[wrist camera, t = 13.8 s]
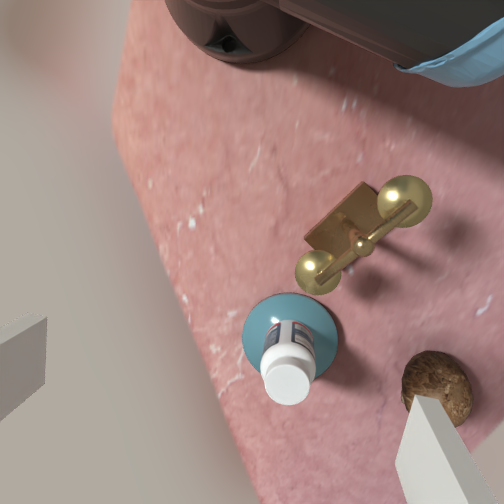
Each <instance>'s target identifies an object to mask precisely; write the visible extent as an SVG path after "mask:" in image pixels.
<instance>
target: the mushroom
mask: <svg viewBox="0 0 504 504" xmlns="http://www.w3.org/2000/svg"><path fill="white" fill-rule="evenodd" d="M415 395H420V396H424V397H429V398H434V399H439V401H440V403H441V405H442V406H443V408H444V410H445V412H446V413H447V415H448V417H449V418H450V420H451V422H452V424H453V425H454V427H457V426H459V425H461V424H463V423H464V421H465V420H466V418H467V417H468V415H469V414H470V412H471V410H472V404H473V394H472V389H471V385H470V383H469V380H468V378H467V376H466V374H465V373H464V371H463V370H462V369H461V368H460V366H459V365H458V364H457V363H456V362H454V361H453V360H452V359H451V358H449V357H448V356H447V355H446V354H444V353H442V352H436V351H424V352H421V353H419V354H417V355H414V356H413V357H412V358H411V360H410V361H409V362H408V364H407V365H406V367H405V370H404V374H403V377H402V391H401V400H402V403H404V404H405V406H406V409H407V411H408V412H409V413H410V410H411V406H412V403H413V400H414V396H415Z"/></svg>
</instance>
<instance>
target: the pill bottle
mask: <svg viewBox="0 0 504 504" xmlns="http://www.w3.org/2000/svg"><path fill="white" fill-rule="evenodd" d="M260 370H261V375H262V378H263V380H264V382H265V389H266V392H267V394H268V395H269V396H270V398H272V399H273V400H274V401H275V402H277V403H280V404H283V405H294V404H297V403H299V402H301V401H303V400H304V399H305V398H306V397H307V395H308V393H309V390H310V385H311V383H312V382H313V380H314V377H315V373H316V363H315V351H314V340H313V336H312V333H311V332H310V330H309V329H308V328H307V327H306V326H305V325H304V324H302V323H301V322H298V321H295V320H282V321H279V322H277V323H275V324H274V325H272V326H271V327H270V329H269V330H268V332H267V334H266V337H265V342H264V347H263V352H262V358H261V364H260Z"/></svg>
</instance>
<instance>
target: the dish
mask: <svg viewBox="0 0 504 504" xmlns="http://www.w3.org/2000/svg"><path fill="white" fill-rule="evenodd" d="M282 320H295V321H298V322H301V323H302V324H304V325H305V326H306V327H307V328H308V329H309V330H310V332H311V333H312V336H313V340H314V351H315V363H316V373H315V377H314V379H315V378H317V377H318V376H320V375H321V374H322V373H324V372H325V371H326V370H327V369H328V367H329V366H330V365H331V363H332V362H333V360H334V358H335V355H336V352H337V348H338V335H337V330H336V326H335V323H334V321H333V318H332V317H331V315H330V313H329V312H328V311H327V310H326V308H324V307H323V306H322V305H321V304H320V303H319V302H317V301H316V300H314V299H312V298H310V297H308V296H305V295H302V294H298V293H279V294H275V295H272V296H270V297H267V298H266V299H264V300H262V301H261V302H259V303H258V304H257V305H256V306H255V307H254V308H253V309H252V311H251V312H250V314H249V315H248V317H247V319H246V322H245V325H244V328H243V334H242V343H243V348H244V351H245V354H246V356H247V358H248V360H249V361H250V363H251V364H252V366H253V367H254V368H255V369H256V370H257V371H258V372H259V373H261V370H260V364H261V358H262V352H263V347H264V342H265V337H266V334H267V332H268V330H269V329H270V327H271V326H272V325H274V324H275V323H277V322H279V321H282Z"/></svg>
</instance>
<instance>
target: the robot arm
mask: <svg viewBox="0 0 504 504" xmlns="http://www.w3.org/2000/svg"><path fill="white" fill-rule="evenodd" d="M165 2H166V5H167V7H168V10H169V12H170V14H171V16H172V17H173V19H174V21H175V22H176V24H177V25H178V27H179V28H180V29H181V31H182V32H183V33H184V34H185V35H186V36H187V37H188V39H189V40H190V41H191V42H192V43H193V44H194V45H196V46H197V47H198V48H199V49H201V50H202V51H203V52H205V53H207V54H208V55H210V56H212V57H214V58H217V59H219V60H222V61H226V62H231V63H241V64H242V63H254V62H259V61H263V60H266V59H269V58H271V57H273V56H276V55H277V54H279V53H281V52H283V51H284V50H286V49H287V48H288V47H290V46H291V45H292V44H293V43H294V42H295V41H296V40H297V39H298V38H299V37H300V36H301V35H302V34H303V33H304V32H305V30H306V29H307V28H308V26H309V25H310V24H312V25H314V26H316V27H318V28H320V29H322V30H325V31H327V32H329V33H331V34H333V35H335V36H337V37H340V38H342V39H344V40H346V41H348V42H350V43H352V44H355V45H357V46H359V47H361V48H363V49H365V50H367V51H370V52H372V53H374V54H376V55H378V56H380V57H382V58H385V59H387V60H389V61H391V62H393V66H394V67H395V68H396V69H398V70H399V71H401V72H405V73H412V74H413V73H417V74H419V75H422V76H424V77H426V78H429V79H431V80H434V81H436V82H439V83H441V84H444V85H446V86H449V87H455V88H461V87H470V86H479V85H482V84H485V83H488V82H490V81H492V80H495V79H497V78H499V77H501V76H503V75H504V0H165ZM46 334H47V317H45V316H41V315H36V314H31V313H26V314H24V315H22V316H21V317H19V318H17V319H15V320H13V321H11V322H9V323H7V324H6V325H4V326H2V327H0V421H1V420H2V419H4V418H5V417H6V416H7V415H8V414H10V413H11V412H12V411H13V410H14V409H15V408H17V407H18V406H19V405H20V404H21V403H23V402H24V401H25V400H26V399H27V398H28V397H30V396H31V395H32V394H33V393H34V392H36V391H37V390H38V389H39V388H40V387H41V386H43V385H44V384H45V362H46V336H47V335H46ZM395 466H396V469H397V472H398V475H399V478H400V482H401V485H402V488H403V491H404V495H405V498H406V501H407V504H499V503H498V501H497V499H496V498H495V496H494V494H493V493H492V491H491V489H490V487H489V486H488V484H487V482H486V480H485V479H484V477H483V475H482V474H481V472H480V470H479V468H478V467H477V465H476V463H475V461H474V460H473V458H472V456H471V455H470V453H469V451H468V449H467V448H466V446H465V444H464V443H463V441H462V439H461V437H460V436H459V434H458V432H457V430H456V429H455V427H454V425H453V424H452V422H451V420H450V418H449V417H448V415H447V413H446V412H445V410H444V408H443V406H442V405H441V403H440V401H439V399H434V398H429V397H424V396H420V395H415V396H414V400H413V403H412V406H411V410H410V413H409V417H408V420H407V424H406V427H405V430H404V434H403V437H402V441H401V444H400V447H399V451H398V454H397V458H396V461H395Z"/></svg>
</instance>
